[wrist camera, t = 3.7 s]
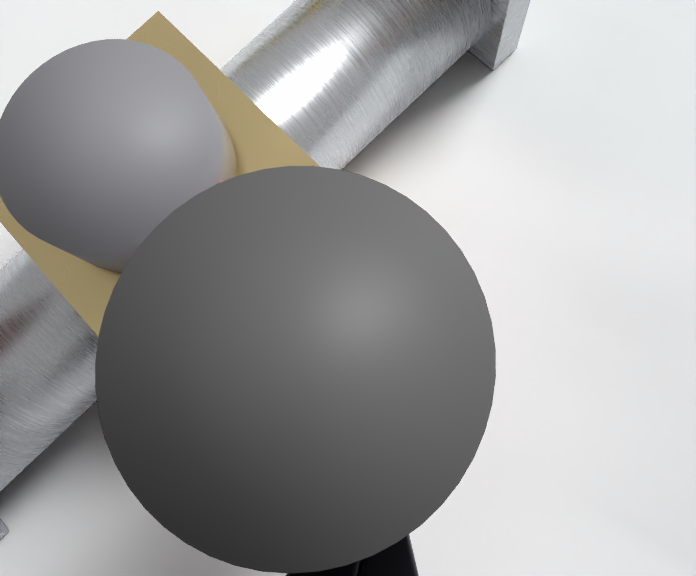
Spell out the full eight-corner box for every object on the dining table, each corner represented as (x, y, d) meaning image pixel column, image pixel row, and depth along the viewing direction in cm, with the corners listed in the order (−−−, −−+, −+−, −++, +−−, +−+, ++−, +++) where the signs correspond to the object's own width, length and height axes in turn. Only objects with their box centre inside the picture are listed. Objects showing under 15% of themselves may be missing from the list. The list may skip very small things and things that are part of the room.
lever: (6, 184, 14) (-538, -130, 6) (145, 49, 15) (-192, -418, 6) (342, 532, 12) (200, 773, 4) (496, 363, 12) (662, 259, 4)
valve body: (-21, 587, 17) (-182, 651, 12) (-137, 424, 18) (-322, 427, 14) (543, 49, 19) (587, -74, 14) (400, -67, 20) (397, -215, 15)
